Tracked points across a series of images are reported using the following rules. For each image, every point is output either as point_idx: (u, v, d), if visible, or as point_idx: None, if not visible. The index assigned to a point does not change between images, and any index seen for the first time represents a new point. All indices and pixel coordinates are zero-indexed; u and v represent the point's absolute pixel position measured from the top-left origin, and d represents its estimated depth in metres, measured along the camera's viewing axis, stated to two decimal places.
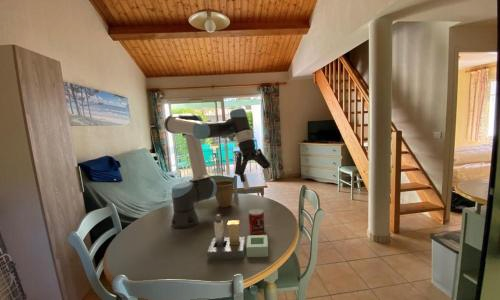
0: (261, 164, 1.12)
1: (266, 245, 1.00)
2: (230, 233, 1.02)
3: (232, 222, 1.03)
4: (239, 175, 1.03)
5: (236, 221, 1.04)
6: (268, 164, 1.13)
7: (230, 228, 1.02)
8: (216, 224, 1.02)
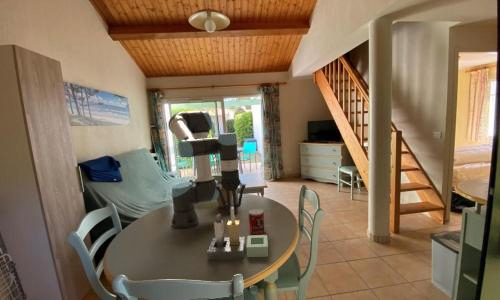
0: (233, 200, 1.02)
1: (266, 245, 1.00)
2: (230, 233, 1.02)
3: None
4: None
5: (236, 221, 1.04)
6: (238, 204, 1.01)
7: (230, 228, 1.02)
8: (216, 224, 1.02)
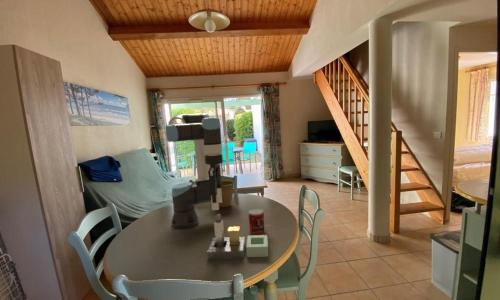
0: None
1: (266, 245, 1.00)
2: (230, 239, 1.03)
3: (232, 229, 1.03)
4: None
5: (236, 227, 1.04)
6: None
7: (230, 234, 1.02)
8: (216, 224, 1.02)
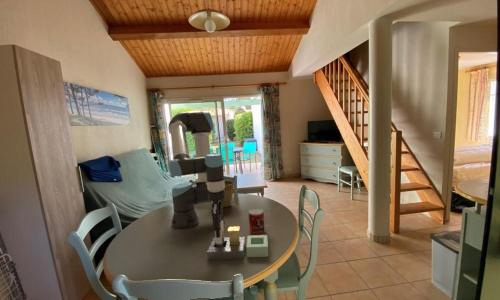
0: None
1: (266, 245, 1.00)
2: (230, 239, 1.03)
3: (232, 229, 1.03)
4: None
5: (236, 227, 1.04)
6: None
7: (230, 234, 1.02)
8: None
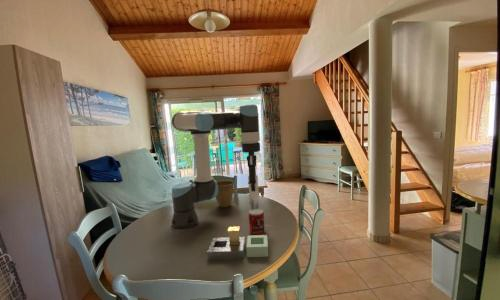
0: None
1: (266, 245, 1.00)
2: (230, 239, 1.03)
3: (232, 229, 1.03)
4: None
5: (236, 227, 1.04)
6: None
7: (230, 234, 1.02)
8: None
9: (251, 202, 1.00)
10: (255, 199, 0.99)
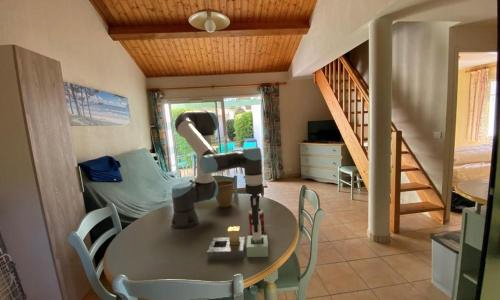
0: None
1: (266, 245, 1.00)
2: (230, 239, 1.03)
3: (232, 229, 1.03)
4: (257, 210, 1.10)
5: (236, 227, 1.04)
6: (252, 222, 0.94)
7: (230, 234, 1.02)
8: None
9: None
10: (258, 243, 1.02)
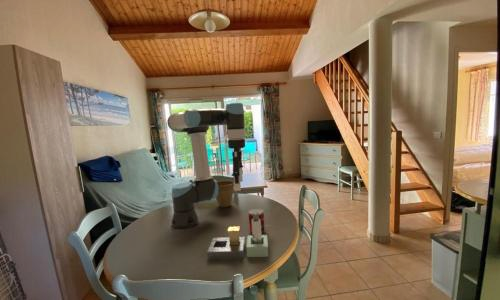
0: None
1: (266, 245, 1.00)
2: (230, 239, 1.03)
3: (232, 229, 1.03)
4: None
5: (236, 227, 1.04)
6: (233, 173, 0.96)
7: (230, 234, 1.02)
8: (254, 223, 1.01)
9: None
10: (258, 243, 1.02)
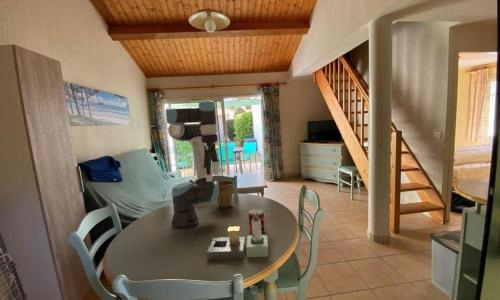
0: None
1: (266, 245, 1.00)
2: (230, 239, 1.03)
3: (232, 229, 1.03)
4: None
5: (236, 227, 1.04)
6: None
7: (230, 234, 1.02)
8: (254, 223, 1.01)
9: None
10: (258, 243, 1.02)
